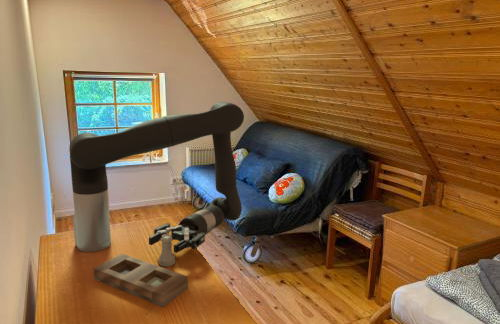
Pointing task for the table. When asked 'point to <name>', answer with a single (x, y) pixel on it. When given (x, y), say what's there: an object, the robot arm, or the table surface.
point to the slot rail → (141, 279)
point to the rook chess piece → (166, 252)
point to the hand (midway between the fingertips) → (162, 245)
